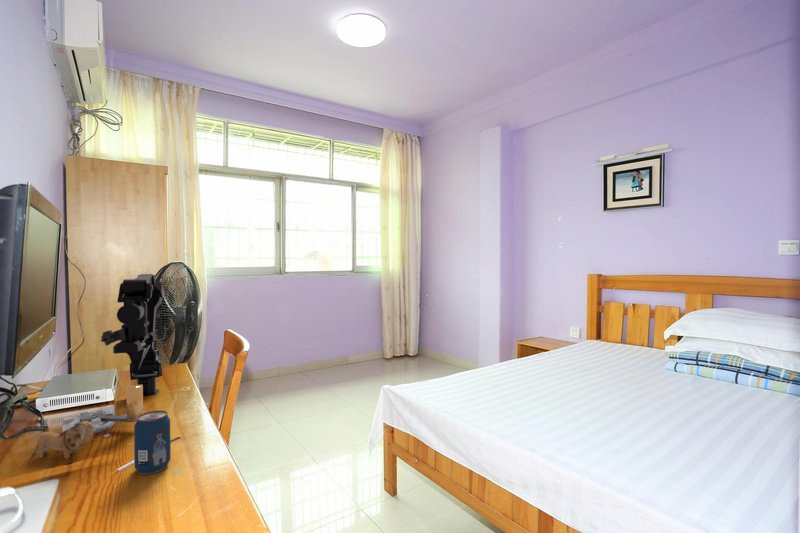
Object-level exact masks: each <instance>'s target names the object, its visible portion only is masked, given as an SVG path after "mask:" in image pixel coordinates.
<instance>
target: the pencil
mask: <svg viewBox="0 0 800 533" xmlns="http://www.w3.org/2000/svg"><path fill="white" fill-rule="evenodd" d="M180 439H181V437H180V436H177V437H175V438H173V439H170V445H171V444H172V443H174V442H176V441H178V440H180ZM131 465H134V460H132V461H130V462H128V463H126V464H125V465H123V466H121V467H119V468H117V469H115V471H113V472H112V473H111V474H110V476H112V475H114V474H116V473H119V472H121V471H123V470H124V469H126V468H129V467H130V466H131Z"/></svg>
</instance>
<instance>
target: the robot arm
mask: <svg viewBox="0 0 800 533" xmlns="http://www.w3.org/2000/svg"><path fill="white" fill-rule="evenodd" d="M122 280H123V281H122V282H121V283H120V284H119V289H118V296H117V303H118V304H119V303H120V304H121V303H123V305H121V307H120V308H118V310H117V312H116V318H117V320H118V321H119V322H120V323H121V324H122V325H121V328H120V329H119V328H118V329H117V330H114V331H113V330H111V329H109V330H105V331H104V332H102V335H101V336H100V337H101V340H100V341H101V342H103V343H104V345H105V346H109V345H111V344H113V343H115V342H117V343H116V344H115V345H114V346H112V347H113V348H112V350H113V352H112V353H113V354H114V355H115V354H126V355H128V358H129V359H130V363H129V376H130V381H134V380H136V385H143V398H144V397H149V396H154V395H155V396H156V395H158V393H159V392H160V388H159V389H157V378H160V377H162V376H163V365H162V363H161V360H160V359H159V355H158V354H157V353H156V351H155V349H154V346H155V345H154V344H155V341H157V334H156V333H155V332H156V331H155V328H156V314H157V309H158V308H159V307H160V306H161V305H162V299H163V298H164V297H165V296H164V294H165V293H164V292H165V291H164V285H163V283H162V281H160V280H158V279H157V278H156V275H155V274H153V273H148V274H147V273H145V274H144V273H143V274H142V273H140V274H138V275H137V277H136V278H133V279H132V278H131V279H129V278H128V279H122ZM118 341H119V342H118Z"/></svg>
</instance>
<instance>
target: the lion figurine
mask: <svg viewBox="0 0 800 533" xmlns="http://www.w3.org/2000/svg"><path fill="white" fill-rule="evenodd" d="M95 429H96V427H94V426H92V424H90V422H88V421H83V422H80V423H78V424H76V425H75V426H73V427H72V428H69V429H67V430H65V431H64V432H63V431H62V433H57V432H55V431H52V430H51V431H49V430H48V431H44V432H42V433H41V434H40V435H39V437H38V439H37V440H36V446H35V447H34V448H35V449H34V451H33V453H31V456H34V455H35V454H36V453H37V452H39V453H38V456H37V457H38V458H40V459H41V458H43V456H44V452H46V451H47V450H48V449H51V450H54V451H63V456H64V459H65V460H66V459H67V460H68V459H69V458H70V457H71V454H73V455H74V454H75V453H77V451H78V450H79V449H81V448H83V447H84V445H85V444H86V443H88V442H90V440H91V439H92V438H93V435H94V434H93V433H94V431H95ZM72 464H73V462H68V463H65V466H70V465H72Z"/></svg>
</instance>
